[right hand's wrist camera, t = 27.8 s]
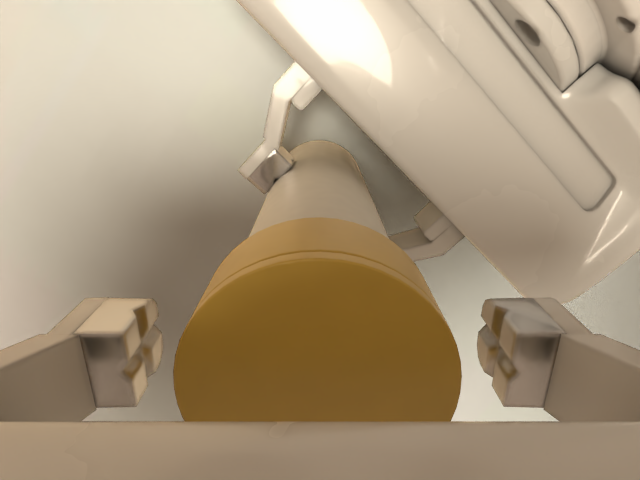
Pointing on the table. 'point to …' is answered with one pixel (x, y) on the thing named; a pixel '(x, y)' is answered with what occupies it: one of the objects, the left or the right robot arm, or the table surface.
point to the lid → (317, 333)
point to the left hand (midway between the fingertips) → (305, 228)
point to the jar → (320, 189)
